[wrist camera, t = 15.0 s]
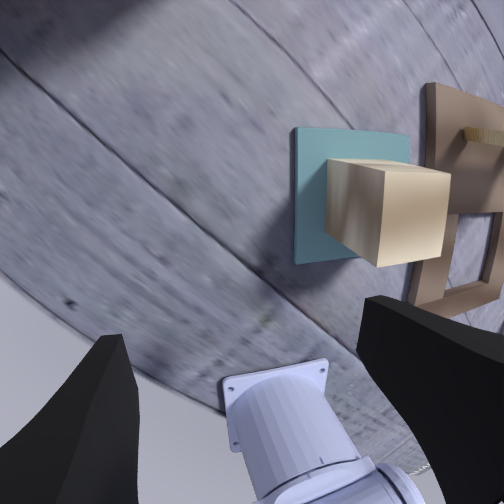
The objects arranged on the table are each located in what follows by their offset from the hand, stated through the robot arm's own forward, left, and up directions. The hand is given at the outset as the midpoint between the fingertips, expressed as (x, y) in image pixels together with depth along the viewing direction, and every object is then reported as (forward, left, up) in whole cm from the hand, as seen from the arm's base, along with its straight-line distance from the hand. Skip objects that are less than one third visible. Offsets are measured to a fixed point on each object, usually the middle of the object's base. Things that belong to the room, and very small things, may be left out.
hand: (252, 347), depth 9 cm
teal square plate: (+2, -9, -10) cm, 14 cm away
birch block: (+2, -9, -10) cm, 13 cm away
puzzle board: (0, -22, -10) cm, 24 cm away
